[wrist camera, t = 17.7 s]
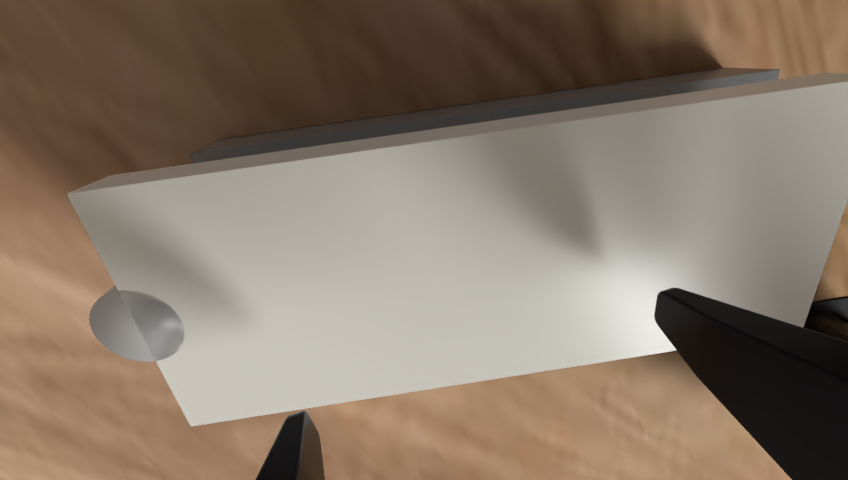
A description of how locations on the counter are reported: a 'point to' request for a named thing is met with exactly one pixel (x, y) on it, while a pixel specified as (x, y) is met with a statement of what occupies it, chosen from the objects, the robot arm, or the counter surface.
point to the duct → (480, 112)
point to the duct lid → (466, 245)
